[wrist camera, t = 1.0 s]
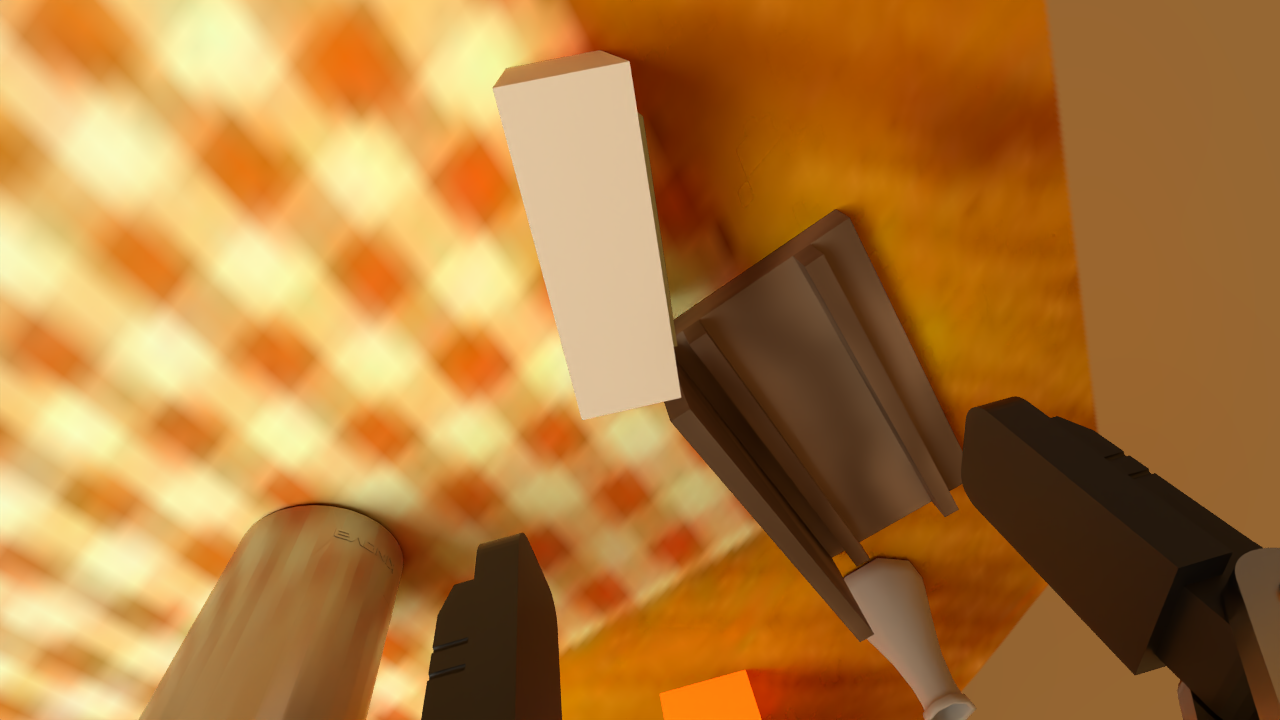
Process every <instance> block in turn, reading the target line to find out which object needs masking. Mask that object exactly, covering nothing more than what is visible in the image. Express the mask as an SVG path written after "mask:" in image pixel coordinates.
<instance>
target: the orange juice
mask: <svg viewBox="0 0 1280 720" xmlns="http://www.w3.org/2000/svg"><path fill="white" fill-rule="evenodd" d="M660 698H661V704H662V709H663V714H664V720H762V719H761V716H760V713H759V710H758V707H757V704H756V701H755V697H754V694H753V691H752V688H751V685H750V682H749V679H748V676H747V673H746V670H743V671H739V672H735V673H732V674H728V675H725V676H721V677H718V678H714V679H710V680H707V681H703V682H700V683H696V684H692V685H689V686H685V687H682V688H678V689H674V690H671V691H667V692H664V693H660Z"/></svg>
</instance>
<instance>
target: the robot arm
mask: <svg viewBox="0 0 1280 720" xmlns="http://www.w3.org/2000/svg"><path fill="white" fill-rule="evenodd" d="M961 480H962V484H963V487H964V489H965V492H966V494H967V496H968V498H969V499H970V501H971V502H972V504H973V505H974V506H975V507H976V508H977V509H978V511H979V512H980V513H981V514H982V515H983V516H984V517H985V518H986V519H987V520H988V521H989V522H990V523H991V524H992V525H993V526H994V527H995V528H996V529H997V531H998V532H999V533H1000V534H1001V535H1002V536H1003V537H1004V538H1005V539H1006V540H1007V541H1008V542H1009V543H1010V544H1011V545H1012V546H1013V547H1014V548H1015V549H1016V551H1017V552H1018V553H1019V554H1020V555H1021V556H1022V557H1023V558H1024V559H1025V560H1026V561H1027V562H1028V563H1029V564H1030V565H1031V566H1032V567H1033V568H1034V570H1035V571H1036V572H1037V573H1038V574H1039V575H1040V576H1041V577H1042V578H1043V579H1044V580H1045V581H1046V582H1047V583H1048V584H1049V585H1050V586H1051V587H1052V588H1053V589H1054V591H1055V592H1056V593H1057V594H1058V595H1059V596H1060V597H1061V598H1062V599H1063V600H1064V601H1065V602H1066V603H1067V604H1068V605H1069V606H1070V607H1071V608H1072V609H1073V611H1074V612H1075V613H1076V614H1077V615H1078V616H1079V617H1080V618H1081V619H1082V620H1083V621H1084V622H1085V623H1086V624H1087V625H1088V626H1089V627H1090V628H1091V630H1092V631H1093V632H1094V633H1096V635H1097V636H1098V637H1099V638H1100V639H1101V640H1102V641H1103V642H1104V643H1105V644H1106V645H1107V646H1108V647H1109V649H1110V650H1111V651H1112V652H1113V653H1114V654H1115V655H1116V656H1117V657H1118V658H1119V659H1120V660H1121V661H1122V662H1123V663H1124V664H1125V665H1126V666H1127V667H1128V668H1129V670H1131V672H1132V673H1133V674H1134V675H1138V674H1141V673H1145V672H1148V671H1151V670H1154V669H1158V668H1161V667H1165V666H1167V667H1168V668H1169V669H1170V670H1171V671H1172V672H1173V673H1174V674H1175V675H1176V676H1177V677H1178V678H1179V679H1180V683H1179V685H1178V699H1179V704H1180V708H1181V712H1182V717H1183V720H1280V548H1262V547H1261V546H1259V545H1258V544H1256V543H1255V542H1253V541H1252V540H1250V539H1249V538H1247V537H1246V536H1244V535H1243V534H1241V533H1240V532H1238V531H1237V530H1236V529H1234V528H1233V527H1231V526H1230V525H1228V524H1227V523H1226V522H1224V521H1223V520H1221V519H1220V518H1218V517H1217V516H1216V515H1214V514H1213V513H1211V512H1210V511H1208V510H1207V509H1206V508H1204V507H1202V506H1201V505H1200V504H1198V503H1197V502H1196V501H1194V500H1193V499H1191V498H1190V497H1188V496H1187V495H1185V494H1184V493H1183V492H1181V491H1180V490H1178V489H1177V488H1175V487H1174V486H1173V485H1171V484H1170V483H1168V482H1167V481H1165V480H1164V479H1162V478H1161V477H1160V476H1158V475H1157V474H1155V473H1154V474H1151V473H1150V472H1149V469H1148V468H1147V467H1145V466H1144V465H1142V464H1141V463H1139V462H1138V461H1137V460H1135V459H1134V458H1132V457H1131V456H1125V455H1124V452H1123V451H1122V450H1121V449H1119V448H1118V447H1117V446H1115V445H1114V444H1112V443H1111V442H1109V441H1108V440H1107V439H1105V438H1104V437H1102V436H1101V435H1099V434H1098V433H1097V432H1095V431H1093V430H1091V429H1088V428H1086V427H1083V426H1081V425H1078V424H1076V423H1073V422H1071V421H1068V420H1066V419H1063V418H1061V417H1058V416H1056V417H1053V418H1049V417H1048V416H1047V415H1045V414H1044V413H1043V412H1041V411H1040V410H1039V409H1037V408H1036V407H1034V406H1033V405H1032V404H1030V403H1029V402H1028V401H1026V400H1024V399H1022V398H1020V397H1010V398H1006V399H1003V400H999V401H996V402H992V403H989V404H985V405H981V406H978V407H974V408H972V409H970V410H969V412H968V413H967V416H966V424H965V434H964V444H963V454H962V464H961ZM403 565H404V563H403V553H402V551H401V548H400V546H399V544H398V542H397V541H396V539H395V538H394V537H393V535H392V534H391V533H390V532H389V531H388V530H387V529H385V528H384V527H383V526H382V525H381V524H379V523H378V522H376V521H374V520H372V519H371V518H369V517H367V516H365V515H362V514H360V513H357V512H354V511H351V510H348V509H343V508H338V507H333V506H321V505H308V506H297V507H292V508H288V509H284V510H280V511H277V512H275V513H272V514H270V515H268V516H266V517H263V518H262V519H261V520H259V521H258V522H257V523H255V524H254V525H253V526H252V527H251V528H250V529H249V530H248V532H247V533H246V534H245V535H244V537H243V538H242V540H241V542H240V544H239V545H238V547H237V549H236V551H235V552H234V554H233V556H232V558H231V559H230V561H229V563H228V565H227V566H226V568H225V570H224V572H223V573H222V575H221V577H220V578H219V580H218V582H217V584H216V585H215V587H214V589H213V590H212V592H211V594H210V595H209V597H208V599H207V601H206V602H205V604H204V606H203V608H202V609H201V611H200V613H199V615H198V616H197V618H196V620H195V622H194V623H193V625H192V627H191V629H190V630H189V632H188V634H187V636H186V638H185V639H184V641H183V643H182V645H181V646H180V648H179V650H178V652H177V653H176V655H175V657H174V659H173V660H172V662H171V664H170V666H169V667H168V669H167V671H166V673H165V674H164V676H163V678H162V680H161V681H160V683H159V685H158V687H157V688H156V690H155V692H154V694H153V695H152V697H151V699H150V701H149V702H148V704H147V706H146V708H145V709H144V711H143V713H142V715H141V716H140V718H139V720H366V718H367V714H368V710H369V705H370V701H371V697H372V693H373V689H374V685H375V681H376V677H377V673H378V669H379V665H380V660H381V656H382V652H383V648H384V644H385V640H386V636H387V632H388V628H389V624H390V620H391V616H392V612H393V608H394V603H395V599H396V595H397V591H398V586H399V582H400V578H401V574H402V569H403ZM433 650H434V653H433V654H432V655H431V661H430V667H429V681H427V686H426V693H425V699H424V705H423V712H422V718H421V720H562V710H561V689H560V669H559V648H558V627H557V617H556V611H555V605H554V601H553V597H552V594H551V591H550V588H549V586H548V583H547V581H546V579H545V577H544V575H543V572H542V570H541V568H540V566H539V563H538V561H537V559H536V557H535V554H534V552H533V550H532V548H531V545H530V543H529V541H528V539H527V537H526V535H525V534H524V533H519V534H516V535H512V536H509V537H505V538H501V539H498V540H494V541H491V542H487V543H484V544H480V545H479V547H478V550H477V557H476V566H475V576H474V579H473V580H470V581H466V582H463V583H459V584H456V585H454V586H453V588H452V590H451V592H450V594H449V596H448V597H447V599H446V601H445V603H444V605H443V607H442V608H441V610H440V612H439V614H438V617H437V623H436V629H435V636H434V642H433Z"/></svg>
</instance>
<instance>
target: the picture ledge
mask: <svg viewBox="0 0 1280 720" xmlns="http://www.w3.org/2000/svg"><path fill="white" fill-rule="evenodd" d="M674 327H675V334H676V340H677V346H676V347H674V353H675V360H676V366H677V373H678V379H679V386H680V392H681V398H678V399H673V400H669V401H665V402H664V403H665V406H666V409H667V412H668V415H669V418H670V421H671V422H672V423H673V425H674V426H675V427H676V428H677V429H678V430H679V432H680V433H681V434H682V435H683V436H684V437H685V439H686V440H687V441H688V442H689V443H690V444H691V446H692V447H693V448H694V449H695V450H696V451H697V453H698V454H699V455H700V456H701V457H702V458H703V460H704V461H705V462H706V463H707V464H708V465H709V467H710V468H711V469H712V470H713V471H714V472H715V474H716V475H717V476H718V477H719V478H720V479H721V481H722V482H723V483H724V484H725V485H726V486H727V488H728V489H729V490H730V491H731V492H732V493H733V495H734V496H735V497H736V498H737V499H738V500H739V501H740V503H741V504H742V505H743V506H744V507H745V508H746V510H747V511H748V512H749V513H750V514H751V515H752V517H753V518H754V519H755V520H756V521H757V522H758V524H759V525H760V526H761V527H762V528H763V529H764V531H765V532H766V533H767V534H768V535H769V536H770V538H771V539H772V540H773V541H774V542H775V543H776V545H777V546H778V547H779V548H780V549H781V550H782V552H783V553H784V554H785V555H786V556H787V557H788V559H789V560H790V561H791V562H792V563H793V564H794V566H795V567H796V568H797V569H798V570H799V571H800V573H801V574H802V575H803V576H804V577H805V578H806V580H807V581H808V582H809V583H810V584H811V585H812V587H813V588H814V589H815V590H816V591H817V592H818V594H819V595H820V596H821V597H822V598H823V599H824V600H825V602H826V603H827V604H828V605H829V606H830V607H831V609H832V610H833V611H834V612H835V613H836V614H837V616H838V617H839V618H840V619H841V620H842V621H843V623H844V624H845V625H846V626H847V627H848V628H849V630H850V631H851V632H852V633H853V634H854V635H855V637H856V638H857V639H858V640H859V641H860V642H861V641H863V640H865V639H867V638H868V637H870V636H872V635H874V633H873V631H872V629H871V627H870V626H869V624H868V622H867V620H866V618H865V617H864V615H863V613H862V611H861V609H860V608H859V606H858V604H857V602H856V600H855V599H854V597H853V595H852V593H851V591H850V590H849V588H848V586H847V584H846V582H845V581H844V579H843V577H842V575H841V573H840V572H839V570H838V568H837V566H836V564H835V563H834V561H833V559H832V557H834V556H836V555H838V554H839V553H841V552H843V551H846V553H847V554H848V555H849V557H850V558H851V559H852V561H853V562H854V563H855V565H856V566H858V565H860V564H862V563H864V562H866V561H867V560H869V559H870V558H869V557H868V555H867V554H866V552H865V551H864V549H863V547H862V546H861V544H860V543H859V542H860V541H862V540H864V539H866V538H868V537H869V536H871V535H873V534H875V533H876V532H878V531H880V530H882V529H883V528H885V527H887V526H889V525H890V524H892V523H894V522H896V521H898V520H899V519H901V518H903V517H905V516H906V515H908V514H910V513H912V512H913V511H915V510H917V509H919V508H920V507H922V506H924V505H926V504H928V503H929V502H931V501H932V502H933V503H934V505H935V506H936V507H937V508H938V509H939V511H940V512H941V513H942V514H943V515H944V517H946V516H948V515H950V514H951V513H953V512H955V511H957V510H959V509H958V507H957V505H956V503H955V501H954V499H953V498H952V496H951V494H950V492H949V491H950V490H952V489H954V488H956V487H958V486H959V485H961V484H962V480H961V464H962V454H963V452H962V450H961V448H960V445H959V443H958V441H957V439H956V437H955V435H954V433H953V431H952V429H951V427H950V425H949V423H948V421H947V419H946V416H945V414H944V412H943V410H942V408H941V406H940V404H939V402H938V400H937V398H936V396H935V394H934V392H933V390H932V387H931V385H930V383H929V381H928V379H927V377H926V375H925V373H924V371H923V369H922V367H921V365H920V363H919V361H918V358H917V356H916V354H915V352H914V350H913V348H912V346H911V344H910V342H909V340H908V338H907V336H906V334H905V332H904V329H903V327H902V325H901V323H900V321H899V319H898V317H897V315H896V313H895V311H894V309H893V307H892V305H891V303H890V300H889V298H888V296H887V294H886V292H885V290H884V288H883V286H882V284H881V282H880V280H879V278H878V276H877V274H876V271H875V269H874V267H873V265H872V263H871V261H870V259H869V257H868V255H867V253H866V251H865V249H864V247H863V244H862V242H861V240H860V238H859V236H858V234H857V232H856V230H855V228H854V226H853V224H852V222H851V220H850V218H849V217H848V216H846V215H845V214H843V213H841V212H840V211H838V210H836V209H835V210H834V211H832V212H831V213H830V214H828V215H827V216H825V217H824V218H822V219H821V220H819V221H818V222H816V223H815V224H813V225H812V226H811V227H809V228H808V229H806V230H805V231H803V232H802V233H800V234H799V235H797V236H796V237H794V238H793V239H792V240H790V241H789V242H787V243H786V244H784V245H783V246H781V247H780V248H778V249H777V250H775V251H774V252H773V253H771V254H770V255H768V256H767V257H765V258H764V259H762V260H761V261H759V262H758V263H756V264H755V265H754V266H752V267H751V268H749V269H748V270H746V271H745V272H743V273H742V274H740V275H739V276H737V277H736V278H735V279H733V280H732V281H730V282H729V283H727V284H726V285H724V286H723V287H721V288H720V289H718V290H717V291H716V292H714V293H713V294H711V295H710V296H708V297H707V298H705V299H704V300H702V301H701V302H699V303H698V304H697V305H695V306H694V307H692V308H691V309H689V310H688V311H686V312H685V313H683V314H682V315H680V316H679V317H678V318H676V319H675V320H674Z"/></svg>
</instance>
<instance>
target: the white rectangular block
mask: <svg viewBox="0 0 1280 720" xmlns="http://www.w3.org/2000/svg"><path fill="white" fill-rule="evenodd" d="M493 92H494V95H495V99H496V103H497V107H498V110H499V114H500V118H501V121H502V125H503V129H504V132H505V136H506V140H507V144H508V147H509V151H510V155H511V158H512V162H513V166H514V170H515V173H516V177H517V181H518V184H519V188H520V192H521V196H522V199H523V203H524V207H525V210H526V214H527V218H528V221H529V225H530V229H531V233H532V236H533V240H534V244H535V247H536V251H537V255H538V259H539V262H540V266H541V270H542V273H543V277H544V281H545V285H546V288H547V292H548V296H549V299H550V303H551V307H552V310H553V314H554V318H555V322H556V325H557V329H558V333H559V336H560V340H561V344H562V348H563V351H564V355H565V359H566V362H567V366H568V370H569V374H570V377H571V381H572V385H573V388H574V392H575V396H576V399H577V403H578V407H579V411H580V414H581V418H582V420H585V419H590V418H594V417H599V416H603V415H607V414H612V413H616V412H621V411H625V410H629V409H634V408H638V407H643V406H647V405H651V404H656V403H660V402H665V401H669V400H673V399H678V398H681V392H680V386H679V379H678V373H677V366H676V360H675V353H674V347H676V346H677V340H676V334H675V327H674V320H673V314H672V307H671V300H670V294H669V287H668V280H667V274H666V267H665V260H664V254H663V247H662V240H661V234H660V227H659V220H658V213H657V207H656V200H655V193H654V187H653V180H652V173H651V167H650V160H649V153H648V147H647V140H646V133H645V127H644V120H643V116H642V115H641V114H639V113H638V112H637V106H636V100H635V93H634V87H633V80H632V74H631V67H630V61H628V60H625V59H622V58H620V57H617V56H614V55H612V54H609V53H606V52H604V51H601V50H598V51H593V52H587V53H582V54H577V55H572V56H567V57H562V58H557V59H551V60H546V61H541V62H536V63H531V64H526V65H521V66H515V67H510V68H506V69H505V71H504V72H503V74H502V75H501V76H500V78H499V79H498V81H497V82H496V84H495V85H494V87H493Z"/></svg>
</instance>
